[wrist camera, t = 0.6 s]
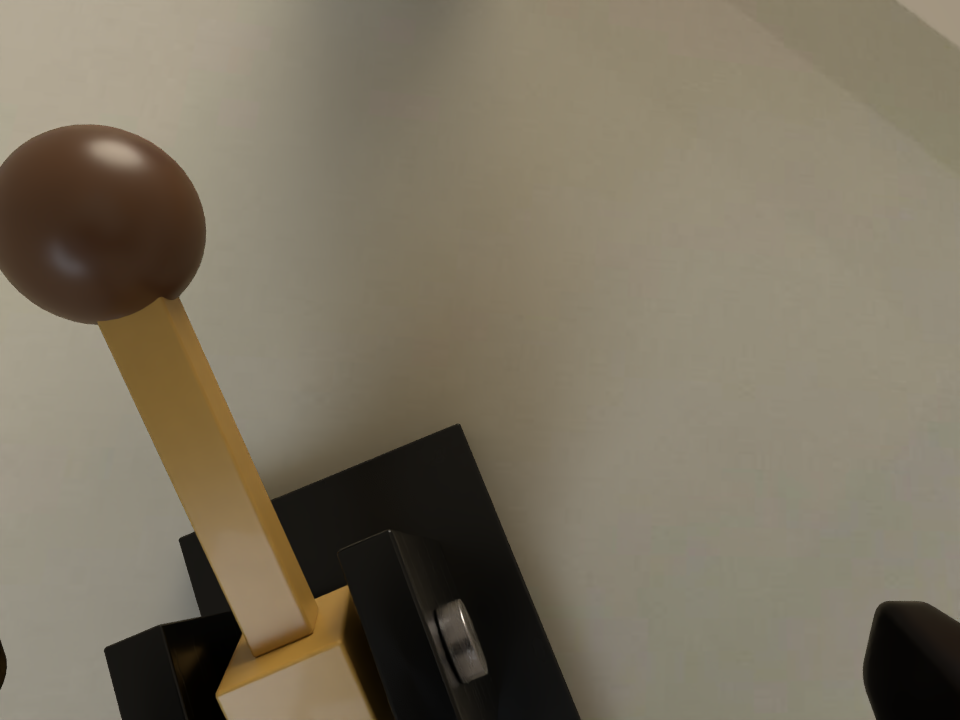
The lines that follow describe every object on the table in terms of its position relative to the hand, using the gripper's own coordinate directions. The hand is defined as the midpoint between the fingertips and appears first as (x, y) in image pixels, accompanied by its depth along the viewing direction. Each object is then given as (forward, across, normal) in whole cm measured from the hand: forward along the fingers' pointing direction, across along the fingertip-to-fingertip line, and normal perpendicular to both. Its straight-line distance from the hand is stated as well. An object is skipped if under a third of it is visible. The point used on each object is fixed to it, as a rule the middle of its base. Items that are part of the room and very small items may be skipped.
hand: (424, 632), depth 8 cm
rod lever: (+7, +4, +2) cm, 8 cm away
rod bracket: (+10, +3, +10) cm, 15 cm away
